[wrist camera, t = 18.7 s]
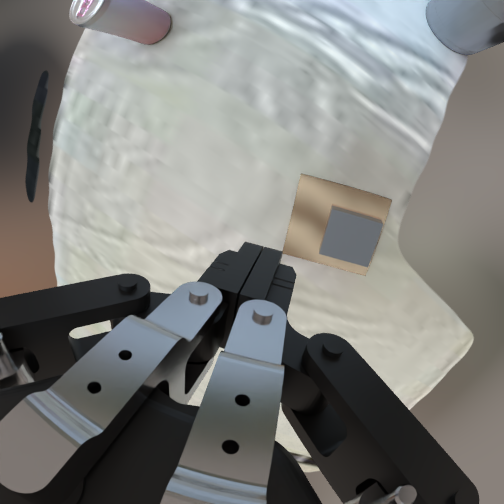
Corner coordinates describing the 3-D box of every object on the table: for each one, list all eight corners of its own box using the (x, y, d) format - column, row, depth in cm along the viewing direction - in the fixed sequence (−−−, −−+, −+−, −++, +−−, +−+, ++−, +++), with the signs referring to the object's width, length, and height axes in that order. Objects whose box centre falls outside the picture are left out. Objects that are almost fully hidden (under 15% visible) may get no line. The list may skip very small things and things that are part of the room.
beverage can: (132, 39, 32) (61, 21, 19) (151, 7, 30) (85, -22, 16) (159, 50, 33) (87, 29, 19) (180, 16, 30) (115, -18, 17)
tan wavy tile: (301, 173, 36) (300, 174, 35) (390, 199, 34) (391, 200, 33) (283, 250, 41) (282, 253, 40) (364, 273, 39) (365, 275, 38)
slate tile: (332, 208, 34) (383, 224, 33) (331, 203, 36) (380, 218, 35) (318, 253, 36) (367, 267, 35) (319, 246, 38) (365, 259, 37)
